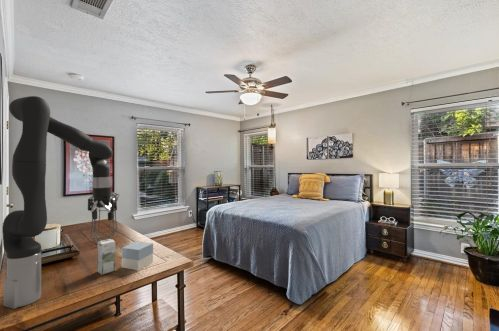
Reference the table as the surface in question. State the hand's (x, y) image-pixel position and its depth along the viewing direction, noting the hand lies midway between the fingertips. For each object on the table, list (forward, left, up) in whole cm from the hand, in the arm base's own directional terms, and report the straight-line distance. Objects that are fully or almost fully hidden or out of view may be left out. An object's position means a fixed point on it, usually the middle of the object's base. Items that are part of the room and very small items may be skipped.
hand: (102, 219), depth 116 cm
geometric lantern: (+29, +33, -24) cm, 50 cm away
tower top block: (+9, -13, -19) cm, 25 cm away
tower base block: (+9, -13, -24) cm, 29 cm away
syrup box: (-2, -5, -24) cm, 24 cm away
